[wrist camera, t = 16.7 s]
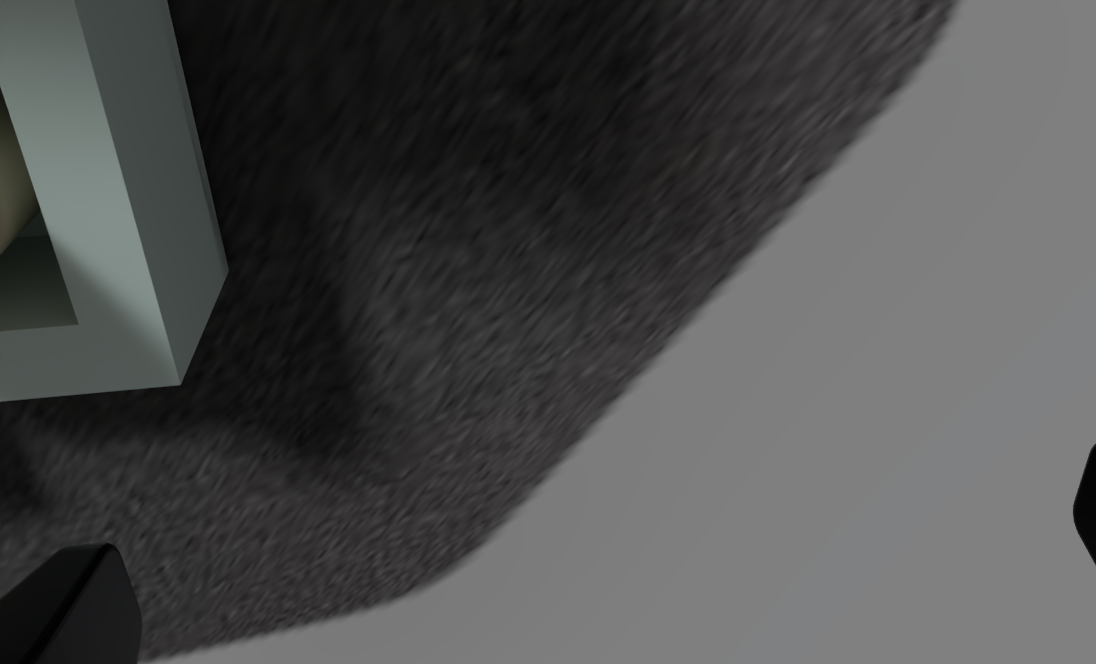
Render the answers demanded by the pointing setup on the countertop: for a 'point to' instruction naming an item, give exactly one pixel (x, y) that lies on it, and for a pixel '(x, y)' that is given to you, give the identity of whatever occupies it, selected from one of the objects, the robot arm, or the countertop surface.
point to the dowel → (13, 183)
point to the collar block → (103, 202)
